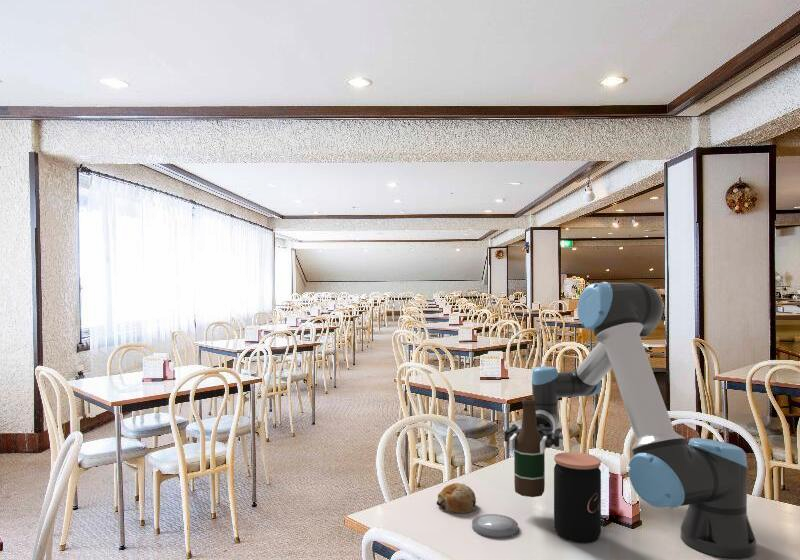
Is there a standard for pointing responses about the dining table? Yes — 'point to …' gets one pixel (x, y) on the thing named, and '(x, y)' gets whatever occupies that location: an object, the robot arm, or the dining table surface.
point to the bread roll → (457, 499)
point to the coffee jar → (577, 497)
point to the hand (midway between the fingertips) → (526, 446)
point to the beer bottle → (529, 455)
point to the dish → (495, 526)
